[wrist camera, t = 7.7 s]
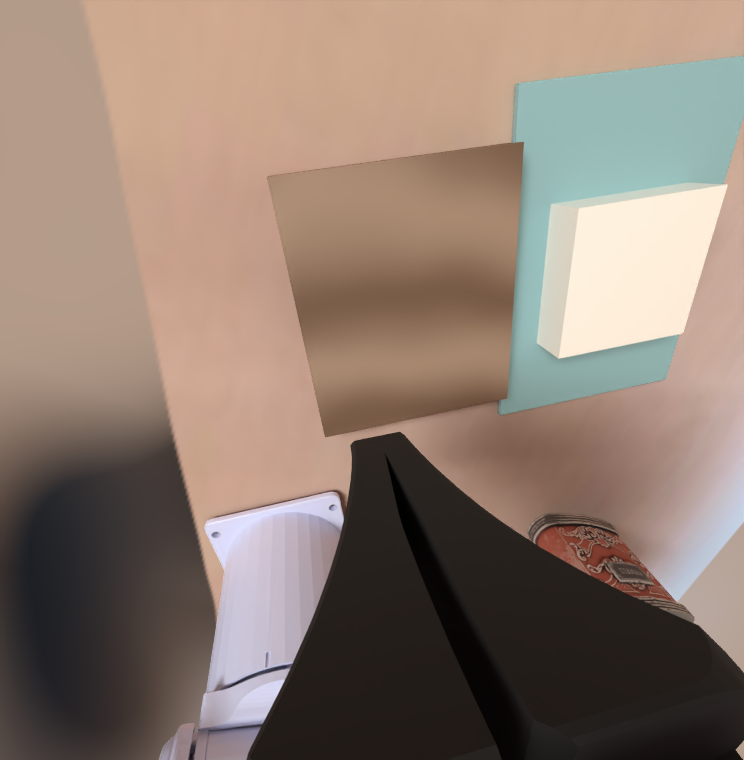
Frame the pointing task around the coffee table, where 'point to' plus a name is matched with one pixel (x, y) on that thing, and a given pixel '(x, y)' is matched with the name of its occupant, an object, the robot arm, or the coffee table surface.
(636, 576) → the lighter
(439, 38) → the coffee table surface
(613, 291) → the cream flat block
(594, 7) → the coffee table surface
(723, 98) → the mat
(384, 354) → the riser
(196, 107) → the coffee table surface
